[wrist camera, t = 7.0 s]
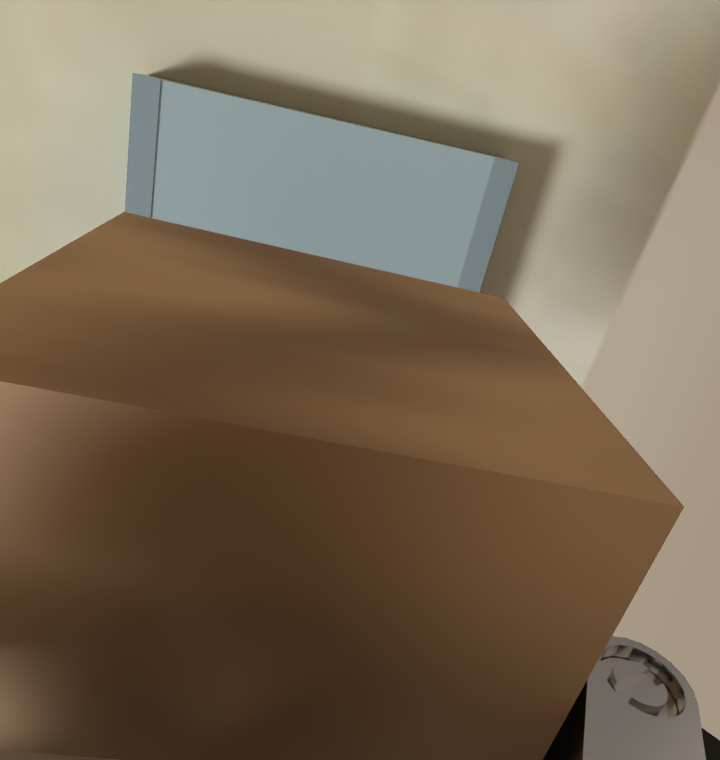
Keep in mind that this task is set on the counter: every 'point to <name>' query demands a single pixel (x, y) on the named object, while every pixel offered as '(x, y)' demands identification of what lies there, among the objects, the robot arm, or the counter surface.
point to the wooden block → (297, 510)
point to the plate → (313, 183)
